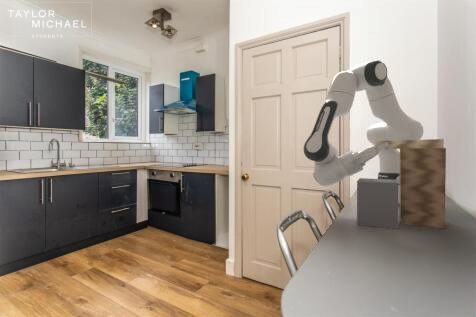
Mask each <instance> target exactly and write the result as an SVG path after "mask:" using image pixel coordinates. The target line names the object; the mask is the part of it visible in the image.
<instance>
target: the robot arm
mask: <svg viewBox="0 0 476 317" xmlns="http://www.w3.org/2000/svg"><path fill="white" fill-rule="evenodd" d="M364 90H365V95H366V98H367V101H368V105H369V107H370V110H371V113H372V115H373V117H375V118H377V119H380V120H382V121H383V122H380V123H379V122H378V123H376V124H372V125H370V126H369V127H368V129H367V131H366V138H367V140H368V142H369V143H371V144H372V146H369V147H367V148H365V149H363V150H360V151H357V150H355V151H352V149H351V150H349V151H346V152H345V153H343V154H342V155H340V154H339V151H338V149H337V148H336V147H335V146H334V145H333V144H332V143H331V142H330V141H329V134H330V132H331V129H332V125H333V124H334V121H335V119H336V118H338V117H339V118H340V117H343V116H345V115H347V114H348V113H349V112H350V111H351V108H352V107H353V103H354V100H355V96H356V92H362V91H364ZM423 135H424V126H423V125H422V123H421V122H420V121H418V120H416V119H413V118H412V117H410V116H409V115H407V113H405V112H404V110H402V108H401V106H400V104H399V102H398V98H397V97H396V93H395V90H394V87H393V84H392V83H391V81H390V78H389V77H388V67H387V66H386V64H385V63H384V62H383V61H382V60H378V59H376V60H371V61H368V62H364V63H361V64H358V65H356V66H354V67H352V68H350V69H347V70H345V71H341V72H338V73H337V74H336V75H335V76H334V77H333V79H332V81H331V83H330V87H329V89H328V90H327V94H326V98H325V102H324V104H322V106H321V109H320V110H319V113H318V116H317V117H316V121H315V123H314V126H313V129H312V132H311V133H310V135H309V136H308V138H307V139H306V141H305V142H304V145H303V153H304V156H305V157H306V158H307V159H308V160H309V161H312V162H314V169H313V173H312V175H313V178H314V180H315V181H316V182H317V183H318V184H319V185H321V186H323V187H328V186H332V185H335V184H337V183H339V182H341V181H343V180H344V179H345V178H347V177H351V176H354V175H356V174H357V173H359V172H361V171H363V170H364V166H366V163H368V162H369V161H370V160H372V159H374V158H375V157H376V156H378V158H379V171H378V172H377V179H392V180H397V181H398V205H399V204H400V150H399V149H384V148H386V147H388V146H389V143H388V142H385V143H383V144H381V145H378V146H376V147H375V141H393V140H422V137H423Z"/></svg>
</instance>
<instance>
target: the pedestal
mask: <svg viewBox="0 0 476 317" xmlns="http://www.w3.org/2000/svg"><path fill="white" fill-rule="evenodd" d="M399 152H400V204H399V203H398V218H399V221H400V224H404V225H412V226H419V227H420V226H422V227H430V228H438V229H440V228H441V229H445V228H446V177H447V176H446V173H447V172H446V171H447V170H446V167H447V166H446V164H447V162H446V161H447V148H446V147H444V148H415V149H399Z"/></svg>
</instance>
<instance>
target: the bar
mask: <svg viewBox="0 0 476 317" xmlns="http://www.w3.org/2000/svg"><path fill="white" fill-rule="evenodd" d="M444 140H445V139H444V138H438V139H437V138H436V139H433V138H432V139H431V138H430V139H420V140H393V141H375V146H374V147H376V146H378V145H381V144H383V143H385V142H388V143H389V146H388V147H386V148H384V149H397V150H400V149H415V148H445V147H444V143H445V141H444Z"/></svg>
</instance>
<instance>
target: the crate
mask: <svg viewBox="0 0 476 317" xmlns="http://www.w3.org/2000/svg"><path fill="white" fill-rule="evenodd" d="M356 225H361V226H369V227H376V228H377V227H378V228H383V229H385V228H386V229H391V228H392V229H393V230H399V203H398V181H397V180H392V179H378V178H367V177H365V178H364V177H363V178H361V177H359V178H358V179H357V181H356ZM392 229H391V230H392Z"/></svg>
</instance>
